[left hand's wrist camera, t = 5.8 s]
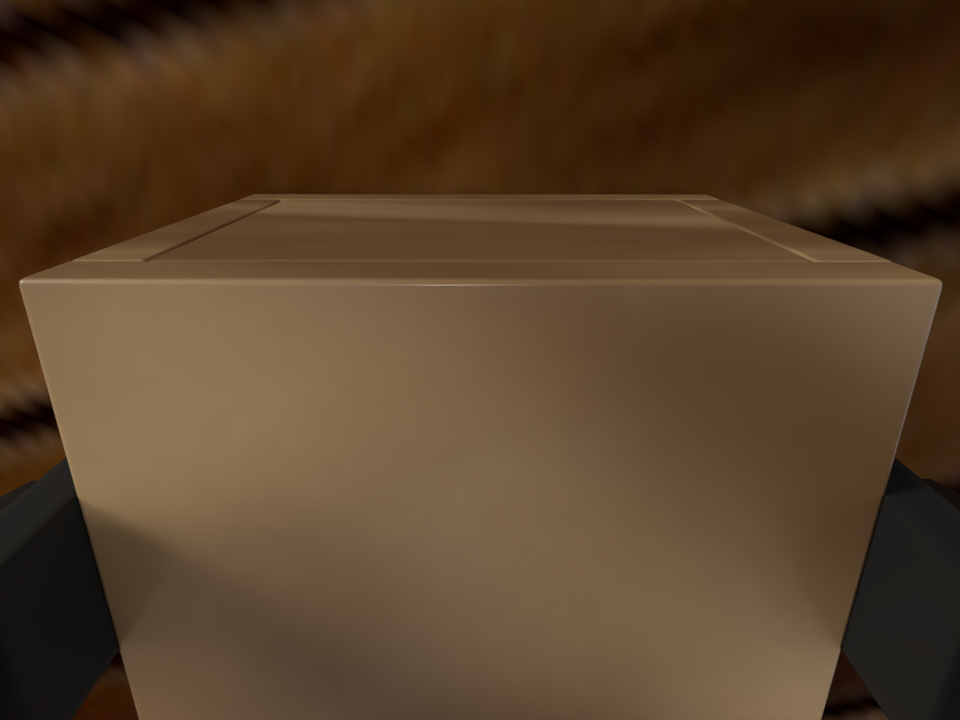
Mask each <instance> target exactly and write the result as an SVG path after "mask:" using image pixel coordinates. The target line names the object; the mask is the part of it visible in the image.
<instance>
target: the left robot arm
mask: <svg viewBox="0 0 960 720" xmlns="http://www.w3.org/2000/svg"><path fill="white" fill-rule="evenodd" d="M119 649H120V648H119V645H118V641H117V637H116V634H115V630H114V627H113V623H112V619H111V616H110V612H109V608H108V605H107V601H106V598H105V594H104V590H103V587H102V583H101V580H100V576H99V572H98V569H97V565H96V561H95V558H94V554H93V551H92V547H91V543H90V540H89V536H88V532H87V529H86V525H85V522H84V518H83V514H82V511H81V507H80V504H79V500H78V496H77V493H76V489H75V485H74V482H73V478H72V475H71V471H70V467H69V464H68V460H67V457H66V458H64V459H63V460H62V461H61V462H60V463H58V464H57V465H56V466H55V467H54V468H52V469H51V470H50V471H49V472H48V473H46V474H45V475H44V476H43V477H42V478H40V479H39V480H38V481H31V482H29V483H27V484H25V485H23V486H21V487H19V488H17V489H15V490H13V491H11V492H9V493H7V494H5V495H3V496H1V497H0V720H72V718H73V717H74V715H75V714H76V713H77V711H78V710H79V708H80V707H81V705H82V704H83V702H84V701H85V699H86V698H87V696H88V695H89V693H90V692H91V690H92V689H93V687H94V686H95V684H96V683H97V681H98V680H99V678H100V677H101V675H102V674H103V672H104V671H105V669H106V668H107V667H108V665H109V664H110V662H111V661H112V659H113V658H114V656H115V655H116V653H117V652H118V650H119ZM841 649H842V651H843V652H844V654H845V655H846V657H847V658H848V660H849V661H850V663H851V664H852V666H853V667H854V668H855V670H856V671H857V673H858V674H859V676H860V677H861V679H862V680H863V682H864V683H865V685H866V686H867V688H868V689H869V691H870V692H871V694H872V695H873V697H874V698H875V700H876V701H877V703H878V704H879V706H880V707H881V709H882V710H883V711H884V713H885V714H886V716H887V717H888V719H889V720H960V494H958V493H957V492H955V491H953V490H951V489H949V488H947V487H945V486H943V485H941V484H939V483H937V482H935V481H933V480H931V479H920V478H919V477H918V476H917V475H916V474H914V473H913V472H912V471H911V470H910V469H908V468H907V467H906V466H905V465H903V464H902V463H901V462H900V461H899V460H897V459H896V458H894V461H893V465H892V468H891V472H890V475H889V479H888V483H887V486H886V490H885V493H884V497H883V500H882V504H881V508H880V511H879V515H878V518H877V522H876V525H875V529H874V533H873V536H872V540H871V543H870V547H869V550H868V554H867V558H866V561H865V565H864V568H863V572H862V575H861V579H860V583H859V586H858V590H857V593H856V597H855V600H854V604H853V608H852V611H851V615H850V618H849V622H848V625H847V629H846V633H845V636H844V640H843V643H842V647H841Z"/></svg>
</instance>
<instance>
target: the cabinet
mask: <svg viewBox="0 0 960 720" xmlns="http://www.w3.org/2000/svg"><path fill="white" fill-rule="evenodd" d="M19 287H20V290H21V294H22V297H23V301H24V305H25V308H26V312H27V315H28V319H29V323H30V326H31V330H32V334H33V337H34V341H35V344H36V348H37V352H38V355H39V359H40V362H41V366H42V370H43V373H44V377H45V381H46V384H47V388H48V391H49V395H50V399H51V402H52V406H53V410H54V413H55V417H56V420H57V424H58V428H59V431H60V435H61V438H62V442H63V446H64V449H65V453H66V457H67V460H68V464H69V467H70V471H71V475H72V478H73V482H74V485H75V489H76V493H77V496H78V500H79V504H80V507H81V511H82V514H83V518H84V522H85V525H86V529H87V532H88V536H89V540H90V543H91V547H92V551H93V554H94V558H95V561H96V565H97V569H98V572H99V576H100V580H101V583H102V587H103V590H104V594H105V598H106V601H107V605H108V608H109V612H110V616H111V619H112V623H113V627H114V630H115V634H116V637H117V641H118V645H119V648H120V652H121V655H122V659H123V663H124V666H125V670H126V674H127V677H128V681H129V684H130V688H131V692H132V695H133V699H134V702H135V706H136V710H137V713H138V717H139V720H821V718H822V715H823V711H824V708H825V704H826V700H827V697H828V693H829V690H830V686H831V683H832V679H833V675H834V672H835V668H836V665H837V661H838V658H839V654H840V650H841V647H842V643H843V640H844V636H845V633H846V629H847V625H848V622H849V618H850V615H851V611H852V608H853V604H854V600H855V597H856V593H857V590H858V586H859V583H860V579H861V575H862V572H863V568H864V565H865V561H866V558H867V554H868V550H869V547H870V543H871V540H872V536H873V533H874V529H875V525H876V522H877V518H878V515H879V511H880V508H881V504H882V500H883V497H884V493H885V490H886V486H887V483H888V479H889V475H890V472H891V468H892V465H893V461H894V458H895V454H896V450H897V447H898V443H899V440H900V436H901V433H902V429H903V425H904V422H905V418H906V415H907V411H908V408H909V404H910V400H911V397H912V393H913V390H914V386H915V383H916V379H917V375H918V372H919V368H920V365H921V361H922V358H923V354H924V350H925V347H926V343H927V340H928V336H929V333H930V329H931V325H932V322H933V318H934V315H935V311H936V308H937V304H938V300H939V297H940V293H941V290H942V281H941V280H939V279H937V278H934V277H932V276H929V275H926V274H923V273H921V272H918V271H915V270H912V269H910V268H907V267H904V266H901V265H898V264H896V263H893V262H891V261H889V260H887V259H884V258H881V257H879V256H876V255H873V254H870V253H867V252H865V251H862V250H859V249H856V248H854V247H851V246H848V245H845V244H842V243H840V242H837V241H834V240H831V239H829V238H826V237H823V236H820V235H818V234H815V233H812V232H809V231H806V230H804V229H801V228H798V227H795V226H793V225H790V224H787V223H784V222H781V221H779V220H776V219H773V218H770V217H768V216H765V215H762V214H759V213H756V212H754V211H751V210H748V209H745V208H743V207H740V206H737V205H734V204H731V203H729V202H726V201H723V200H719V199H717V198H714V197H711V196H708V195H688V194H254V195H251V196H248V197H245V198H243V199H240V200H237V201H234V202H232V203H229V204H226V205H223V206H221V207H218V208H215V209H212V210H210V211H207V212H204V213H201V214H199V215H196V216H193V217H190V218H188V219H185V220H182V221H179V222H177V223H174V224H171V225H168V226H166V227H163V228H160V229H157V230H154V231H152V232H149V233H146V234H143V235H141V236H138V237H135V238H132V239H130V240H127V241H124V242H121V243H119V244H116V245H113V246H110V247H108V248H105V249H102V250H99V251H97V252H94V253H91V254H88V255H86V256H83V257H80V258H77V259H75V260H73V261H69V262H66V263H64V264H61V265H58V266H55V267H53V268H50V269H47V270H44V271H42V272H39V273H36V274H33V275H31V276H28V277H25V278H23V279H21V280H20V282H19Z"/></svg>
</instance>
